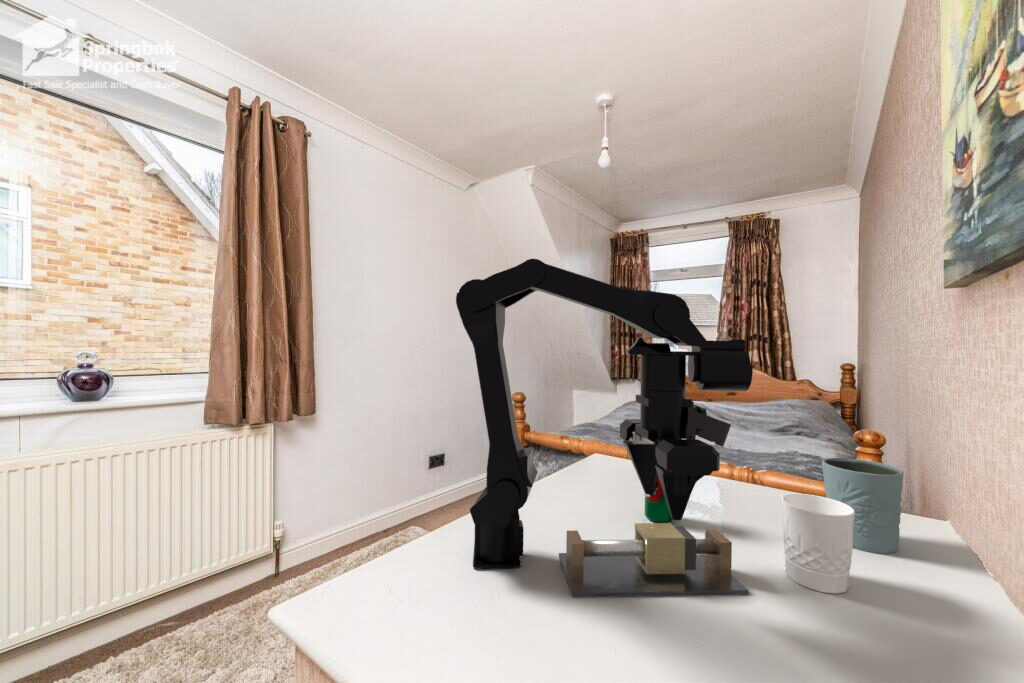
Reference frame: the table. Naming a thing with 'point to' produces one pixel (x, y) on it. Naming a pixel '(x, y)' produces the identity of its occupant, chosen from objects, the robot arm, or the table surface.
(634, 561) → the pipe rig
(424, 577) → the table surface
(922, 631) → the table surface
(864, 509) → the drinking glass
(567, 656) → the table surface
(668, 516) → the soda can
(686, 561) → the dark grey square collar
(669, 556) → the sleeve
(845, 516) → the white cup
